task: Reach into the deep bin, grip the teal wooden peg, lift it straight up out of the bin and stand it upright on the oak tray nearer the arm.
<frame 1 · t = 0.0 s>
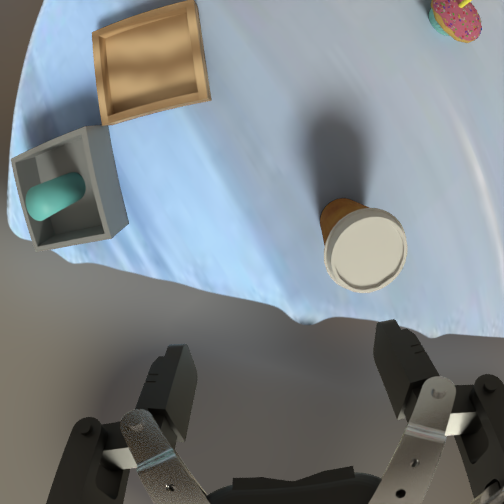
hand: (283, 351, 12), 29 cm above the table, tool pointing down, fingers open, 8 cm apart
tray: (151, 63, 32), on the table
deep bin: (77, 185, 38), on the table
peg: (73, 186, 38), point 1 cm above the table, touching deep bin
disposable coffee cup: (341, 219, 40), on the table
cupcake: (441, 21, 27), on the table
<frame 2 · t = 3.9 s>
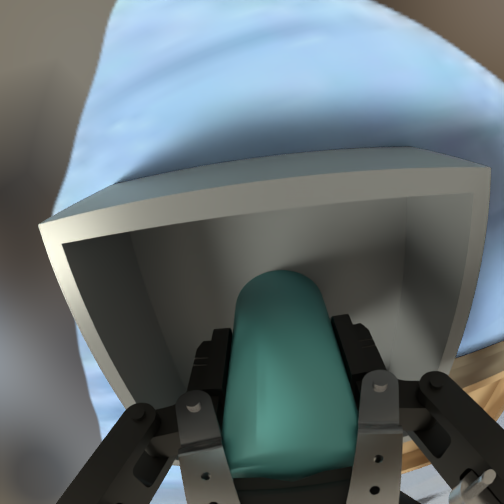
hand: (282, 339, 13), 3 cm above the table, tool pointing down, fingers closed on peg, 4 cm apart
tray: (440, 408, 21), on the table
deep bin: (278, 298, 16), on the table
peg: (279, 309, 15), point 1 cm above the table, touching deep bin, gripper
when the fingers open (5 cm above the table, at t = 9.3 s): peg drops 1 cm, resting on tray.
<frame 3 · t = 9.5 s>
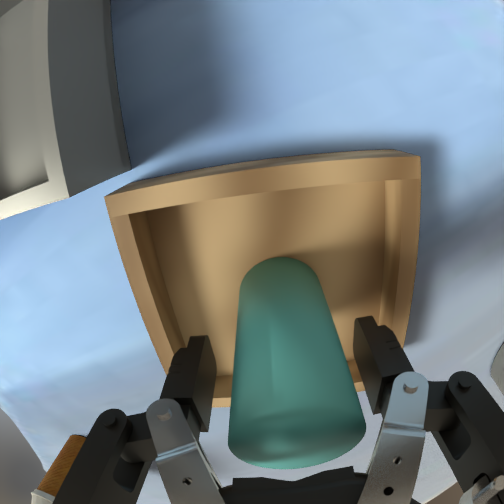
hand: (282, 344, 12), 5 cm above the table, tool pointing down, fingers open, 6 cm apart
tray: (276, 284, 17), on the table
deep bin: (19, 90, 12), on the table
peg: (280, 294, 16), point 1 cm above the table, touching tray
disposable coffee cup: (92, 447, 28), on the table
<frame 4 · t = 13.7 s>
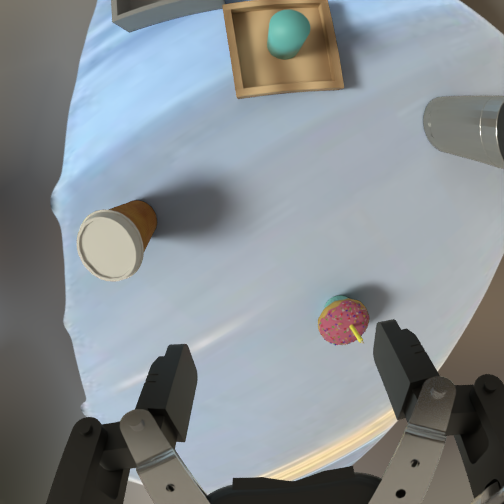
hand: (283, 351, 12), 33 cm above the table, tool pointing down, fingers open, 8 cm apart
tray: (281, 47, 34), on the table
peg: (283, 45, 33), point 1 cm above the table, touching tray
disposable coffee cup: (138, 219, 45), on the table
cupcake: (338, 306, 50), on the table
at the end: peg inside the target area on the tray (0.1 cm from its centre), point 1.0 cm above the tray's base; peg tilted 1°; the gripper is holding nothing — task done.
